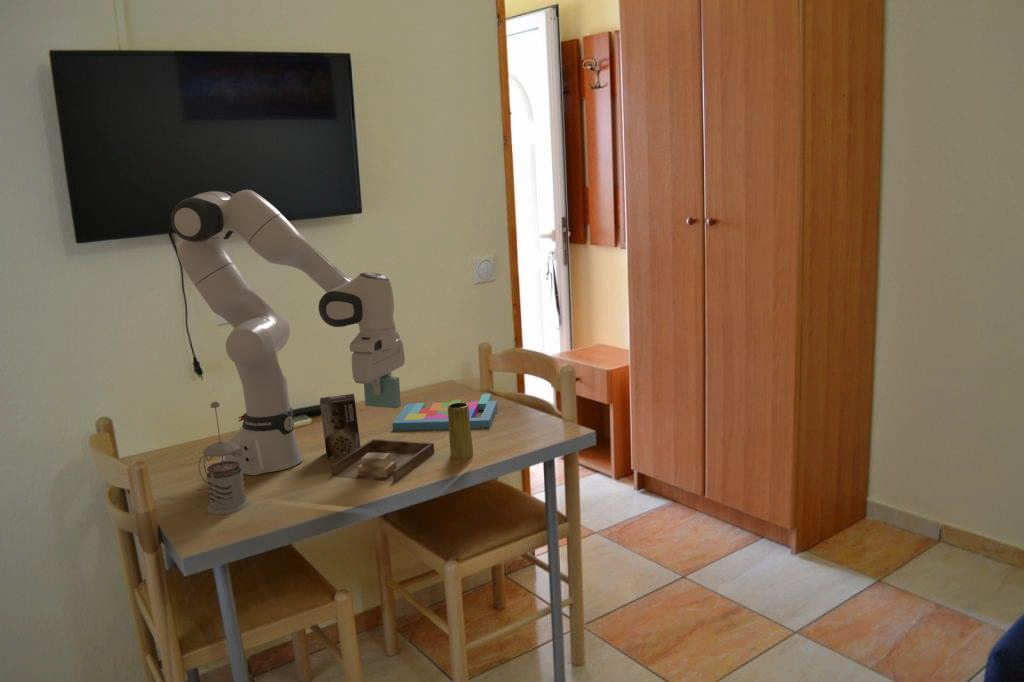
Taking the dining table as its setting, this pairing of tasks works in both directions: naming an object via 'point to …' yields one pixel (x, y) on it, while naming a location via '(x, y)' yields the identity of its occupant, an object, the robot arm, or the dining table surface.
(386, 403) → the teal rectangular block
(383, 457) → the offcut top
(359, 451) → the brown wooden tray
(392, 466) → the offcut low
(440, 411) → the tetris game
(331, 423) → the coffee box
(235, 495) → the french press
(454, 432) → the vase
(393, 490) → the dining table surface
